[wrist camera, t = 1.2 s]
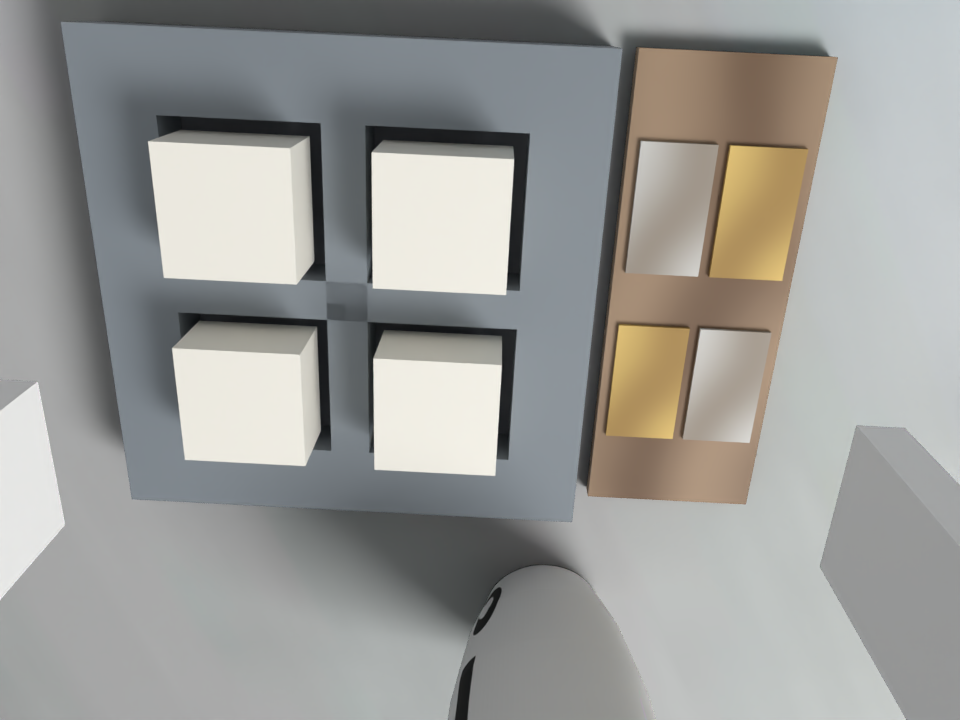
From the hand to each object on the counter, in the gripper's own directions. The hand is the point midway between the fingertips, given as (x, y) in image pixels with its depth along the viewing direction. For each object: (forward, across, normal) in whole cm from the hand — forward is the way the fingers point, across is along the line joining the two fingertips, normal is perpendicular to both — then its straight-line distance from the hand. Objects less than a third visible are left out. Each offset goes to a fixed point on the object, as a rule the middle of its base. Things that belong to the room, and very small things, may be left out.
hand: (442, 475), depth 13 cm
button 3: (+15, -8, +1) cm, 17 cm away
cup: (+17, +4, -17) cm, 25 cm away
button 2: (+15, -1, -6) cm, 16 cm away
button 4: (+15, -8, -6) cm, 18 cm away
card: (+17, +8, -2) cm, 19 cm away
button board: (+17, -4, -2) cm, 18 cm away
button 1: (+15, -1, +1) cm, 15 cm away
